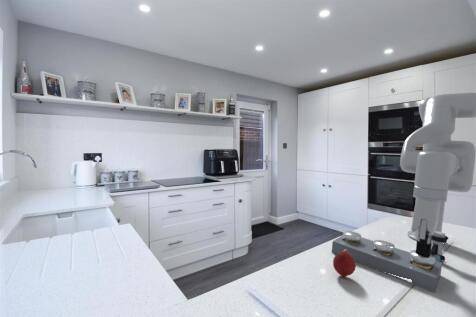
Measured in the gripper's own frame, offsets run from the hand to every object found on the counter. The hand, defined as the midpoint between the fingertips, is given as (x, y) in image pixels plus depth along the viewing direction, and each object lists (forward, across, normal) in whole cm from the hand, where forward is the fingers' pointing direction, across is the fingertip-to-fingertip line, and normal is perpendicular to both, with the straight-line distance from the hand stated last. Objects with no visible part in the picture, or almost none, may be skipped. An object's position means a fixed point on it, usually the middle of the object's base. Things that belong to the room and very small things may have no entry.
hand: (422, 255), depth 68 cm
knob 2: (+6, 0, 0) cm, 6 cm away
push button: (+7, -17, +2) cm, 19 cm away
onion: (+7, +19, -15) cm, 25 cm away
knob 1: (+6, 0, -20) cm, 21 cm away
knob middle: (+6, 0, -10) cm, 12 cm away
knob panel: (+7, 0, -10) cm, 12 cm away
